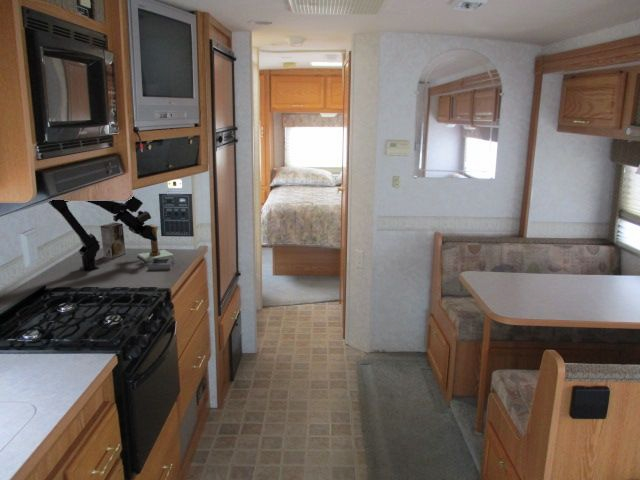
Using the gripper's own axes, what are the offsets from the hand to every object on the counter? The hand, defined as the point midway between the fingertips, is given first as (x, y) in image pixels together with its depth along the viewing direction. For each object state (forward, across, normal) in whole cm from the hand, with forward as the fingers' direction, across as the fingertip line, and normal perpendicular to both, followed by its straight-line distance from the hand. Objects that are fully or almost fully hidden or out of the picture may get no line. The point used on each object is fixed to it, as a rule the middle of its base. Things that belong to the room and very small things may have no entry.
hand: (152, 238), depth 268 cm
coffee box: (-3, +16, +17) cm, 24 cm away
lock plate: (+4, -18, +9) cm, 20 cm away
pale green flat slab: (+7, 0, +6) cm, 10 cm away
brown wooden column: (+6, 0, +6) cm, 8 cm away
